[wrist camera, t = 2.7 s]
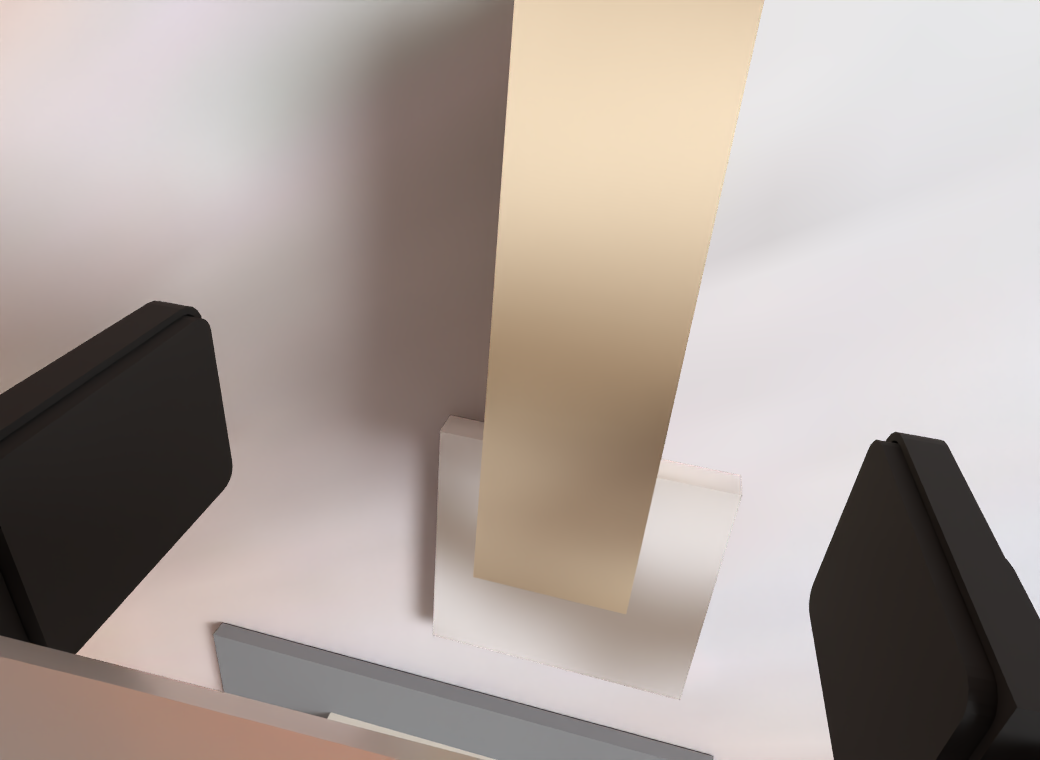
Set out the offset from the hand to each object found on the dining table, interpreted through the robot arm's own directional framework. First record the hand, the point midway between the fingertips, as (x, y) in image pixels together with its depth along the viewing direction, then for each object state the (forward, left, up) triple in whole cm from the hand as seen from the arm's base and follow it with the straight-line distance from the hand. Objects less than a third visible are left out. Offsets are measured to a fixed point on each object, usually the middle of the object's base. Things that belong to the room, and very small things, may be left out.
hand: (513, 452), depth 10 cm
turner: (-1, +2, -6) cm, 6 cm away
